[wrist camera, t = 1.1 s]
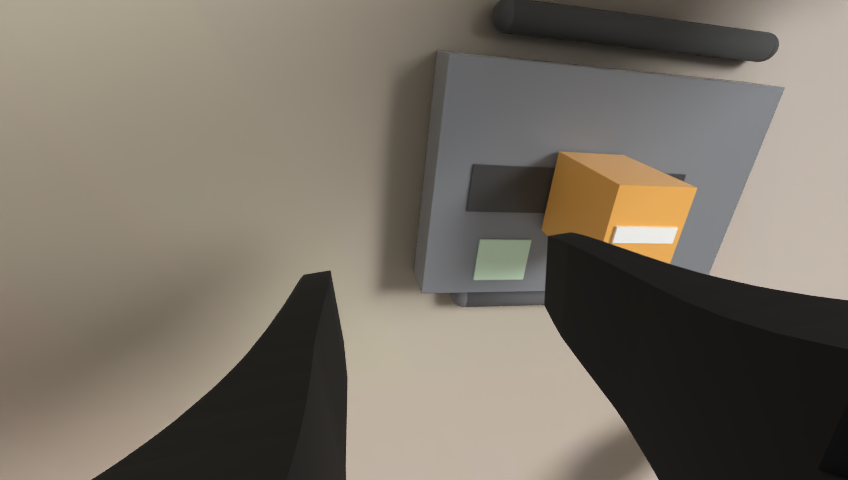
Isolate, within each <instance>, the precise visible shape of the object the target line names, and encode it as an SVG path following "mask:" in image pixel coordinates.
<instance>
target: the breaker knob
mask: <svg viewBox="0 0 848 480" xmlns="http://www.w3.org/2000/svg"><path fill="white" fill-rule="evenodd" d="M696 191H697V187H694V186H692V185H690V184H688V183H685V182H683V181H681V180H679V179H676V178H674V177H672V176H670V175H667V174H665V173H663V172H661V171H658V170H656V169H654V168H652V167H649V166H647V165H645V164H643V163H640V162H638V161H636V160H634V159H631V158H629V157H627V156H625V155H615V154H597V153H579V152H561V151H559V153H558V158H557V162H556V167H555V171H554V176H553V180H552V185H551V189H550V193H549V198H548V202H547V207H546V211H545V216H544V220H543V224H542V229H541V230H542V231H543V232H544V233H545V234H546V235H547V236H550V235H556V234H563V233H569V232H572V233H577V234H581V235H585V236H588V237H591V238H595V239H598V240H601V241H604V242H607V243H610V244H612V245H615V246H618V247H621V248H624V249H627V250H630V251H632V252H635V253H638V254H641V255H644V256H647V257H650V258H653V259H656V260H659V261H662V262H665V263H669V264H670V262H671V260H672V257H673V254H674V251H675V249H676V246H677V243H678V240H679V238H680V235H681V232H682V229H683V227H684V224H685V221H686V218H687V216H688V213H689V210H690V207H691V205H692V202H693V199H694V196H695V194H696Z"/></svg>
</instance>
